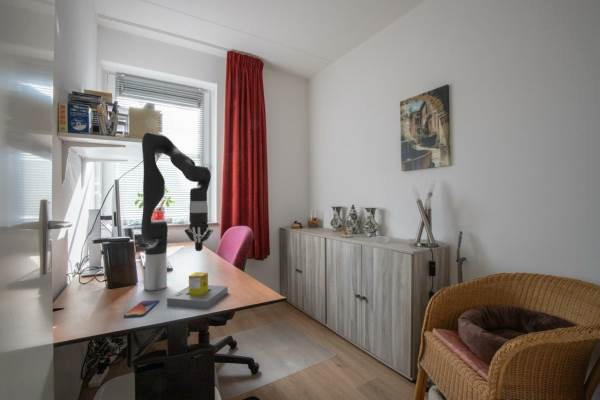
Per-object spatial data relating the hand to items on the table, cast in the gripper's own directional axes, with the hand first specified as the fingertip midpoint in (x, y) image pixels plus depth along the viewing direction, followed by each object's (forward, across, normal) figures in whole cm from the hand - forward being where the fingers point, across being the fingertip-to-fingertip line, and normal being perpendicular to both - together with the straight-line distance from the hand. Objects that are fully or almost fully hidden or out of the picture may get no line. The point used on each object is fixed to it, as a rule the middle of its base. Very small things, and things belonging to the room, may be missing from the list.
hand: (198, 250), depth 117 cm
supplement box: (+21, 0, -1) cm, 21 cm away
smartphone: (+22, -16, -14) cm, 31 cm away
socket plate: (+21, 0, -1) cm, 21 cm away
